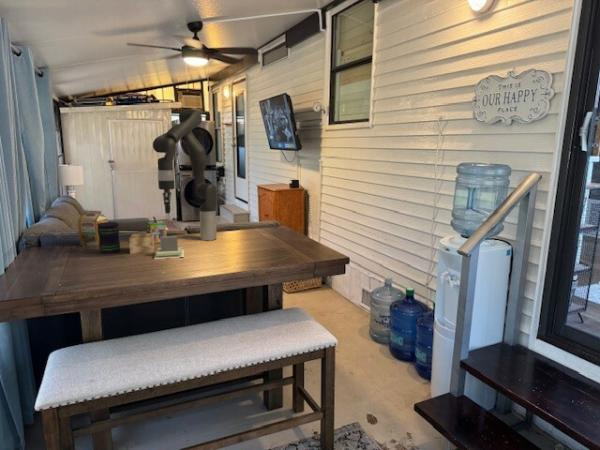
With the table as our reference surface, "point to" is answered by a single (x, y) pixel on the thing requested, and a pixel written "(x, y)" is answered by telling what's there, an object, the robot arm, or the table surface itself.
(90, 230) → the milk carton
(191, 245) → the table surface
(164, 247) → the lid
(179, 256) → the mat
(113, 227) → the dark blue cylinder
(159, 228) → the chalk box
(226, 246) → the table surface
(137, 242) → the box
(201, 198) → the robot arm
